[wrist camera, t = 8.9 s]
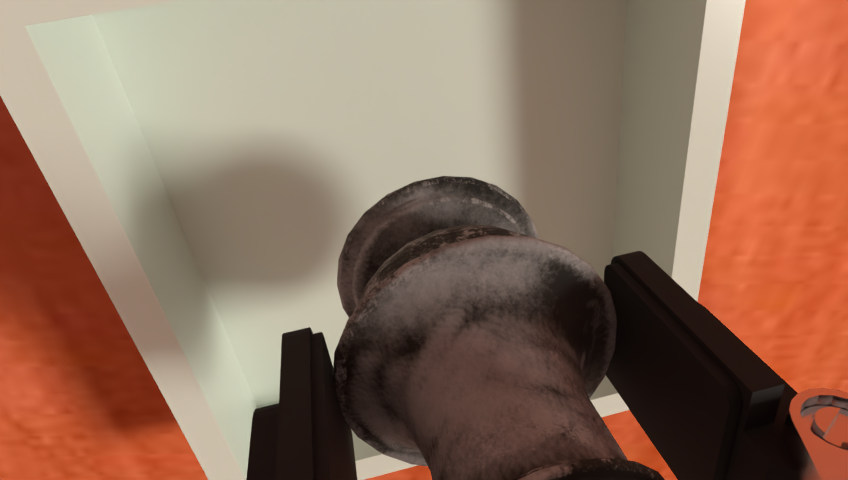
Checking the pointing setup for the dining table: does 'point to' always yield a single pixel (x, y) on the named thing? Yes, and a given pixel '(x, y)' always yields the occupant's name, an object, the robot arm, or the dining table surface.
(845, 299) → the dining table surface
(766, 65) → the dining table surface
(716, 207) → the dining table surface
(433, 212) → the salt shaker
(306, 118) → the tray
